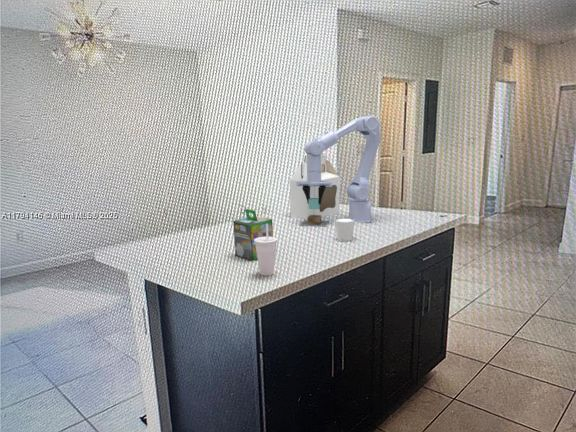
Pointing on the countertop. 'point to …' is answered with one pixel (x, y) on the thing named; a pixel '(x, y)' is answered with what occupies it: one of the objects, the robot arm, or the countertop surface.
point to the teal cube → (314, 203)
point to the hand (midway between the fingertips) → (314, 203)
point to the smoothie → (266, 253)
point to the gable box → (314, 191)
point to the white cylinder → (344, 229)
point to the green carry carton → (250, 234)
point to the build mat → (323, 224)
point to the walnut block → (314, 219)
